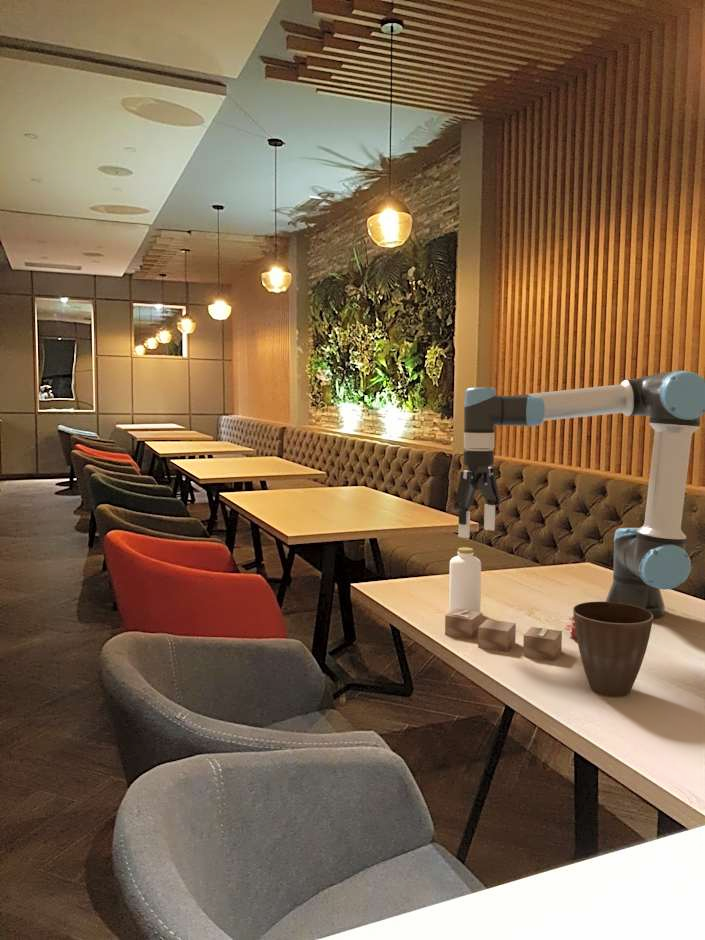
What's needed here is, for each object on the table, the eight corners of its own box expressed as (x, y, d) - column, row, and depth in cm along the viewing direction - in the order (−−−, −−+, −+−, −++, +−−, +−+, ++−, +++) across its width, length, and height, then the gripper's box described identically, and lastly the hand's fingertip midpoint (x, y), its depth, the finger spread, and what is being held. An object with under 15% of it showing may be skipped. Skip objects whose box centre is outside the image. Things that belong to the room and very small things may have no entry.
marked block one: (561, 652, 169) (561, 630, 169) (554, 661, 163) (555, 639, 163) (531, 647, 172) (531, 625, 172) (523, 656, 166) (523, 634, 166)
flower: (613, 628, 180) (594, 600, 183) (614, 632, 172) (594, 602, 174) (578, 648, 182) (560, 619, 185) (577, 652, 174) (558, 622, 176)
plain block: (515, 643, 175) (515, 623, 175) (507, 652, 169) (507, 631, 169) (486, 639, 178) (487, 619, 178) (478, 647, 172) (478, 627, 172)
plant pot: (658, 708, 138) (661, 625, 136) (575, 702, 141) (578, 620, 139) (641, 678, 153) (644, 603, 151) (567, 674, 155) (569, 599, 154)
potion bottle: (442, 614, 198) (443, 549, 196) (460, 608, 204) (461, 544, 202) (468, 621, 192) (469, 553, 191) (486, 614, 199) (487, 548, 197)
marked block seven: (481, 632, 184) (482, 611, 184) (471, 639, 178) (472, 618, 178) (455, 627, 188) (456, 607, 187) (445, 635, 182) (445, 614, 181)
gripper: (488, 446, 196) (486, 525, 198) (440, 451, 176) (438, 538, 178) (514, 447, 191) (512, 528, 193) (468, 452, 172) (466, 542, 174)
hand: (476, 533), depth 186 cm, fingers open, 13 cm apart
